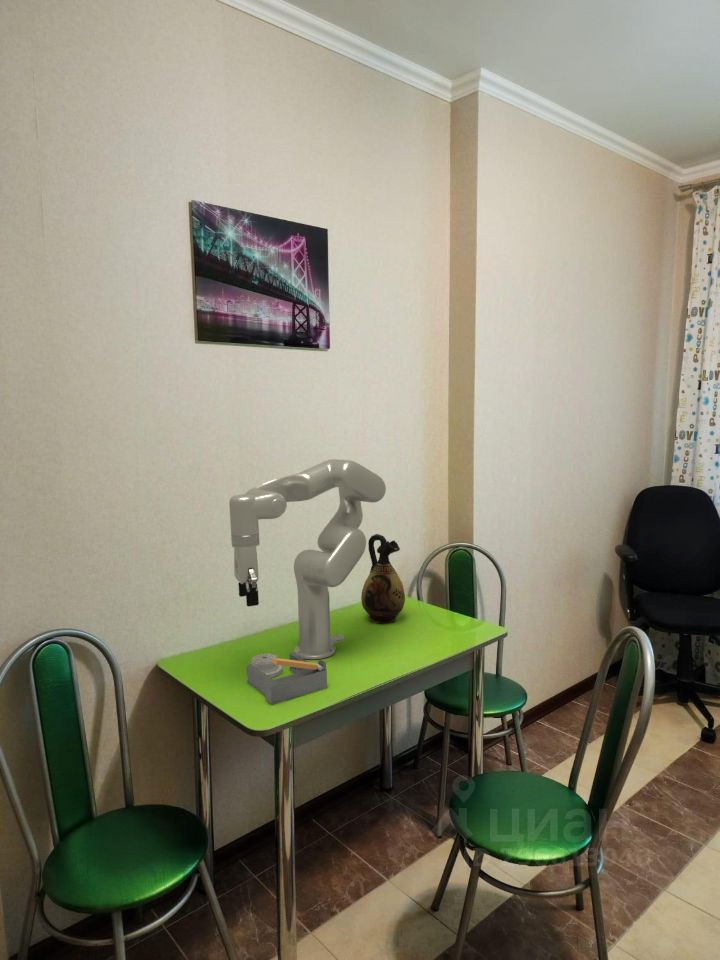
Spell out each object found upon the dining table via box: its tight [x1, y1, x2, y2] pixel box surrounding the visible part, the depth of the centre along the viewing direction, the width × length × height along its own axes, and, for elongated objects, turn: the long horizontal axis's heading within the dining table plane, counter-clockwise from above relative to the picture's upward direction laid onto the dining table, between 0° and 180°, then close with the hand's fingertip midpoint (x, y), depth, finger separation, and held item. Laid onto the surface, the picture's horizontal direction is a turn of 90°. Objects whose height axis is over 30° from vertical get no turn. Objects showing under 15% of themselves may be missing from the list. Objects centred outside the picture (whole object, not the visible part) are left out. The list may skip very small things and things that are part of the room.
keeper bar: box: [272, 658, 323, 671], centre depth 167 cm, size 14×3×1 cm, turn 125°
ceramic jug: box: [360, 533, 406, 625], centre depth 224 cm, size 17×15×30 cm
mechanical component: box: [250, 652, 284, 679], centre depth 182 cm, size 10×4×10 cm
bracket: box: [246, 652, 328, 706], centre depth 172 cm, size 17×16×7 cm
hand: (248, 600), depth 177 cm, fingers open, 9 cm apart
